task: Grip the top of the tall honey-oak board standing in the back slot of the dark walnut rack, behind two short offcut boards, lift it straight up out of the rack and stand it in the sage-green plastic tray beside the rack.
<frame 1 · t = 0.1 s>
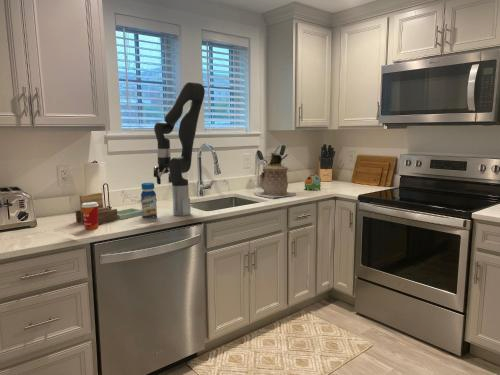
hand: (164, 183, 224), 17 cm above the table, tool pointing down, fingers open, 8 cm apart
paper cup: (92, 231, 183), on the table
tray: (126, 218, 211), on the table
cookie jar: (274, 195, 279), on the table
offcut b: (101, 222, 196), point 1 cm above the table, touching rack
rack: (97, 223, 198), on the table
offcut a: (97, 221, 198), point 1 cm above the table, touching rack
beverage bottle: (149, 219, 208), on the table
tall board: (93, 220, 201), point 1 cm above the table, touching rack
turtle holder: (313, 189, 304), on the table
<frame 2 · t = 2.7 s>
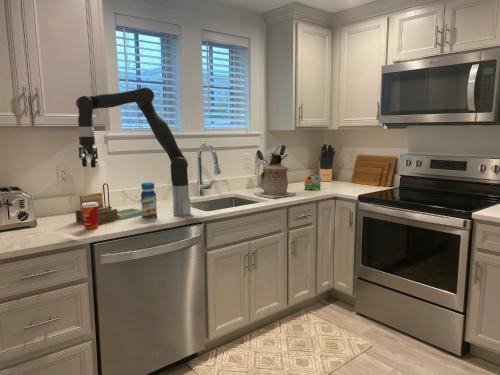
hand: (89, 167, 197), 30 cm above the table, tool pointing down, fingers open, 8 cm apart
nothing on the table moved.
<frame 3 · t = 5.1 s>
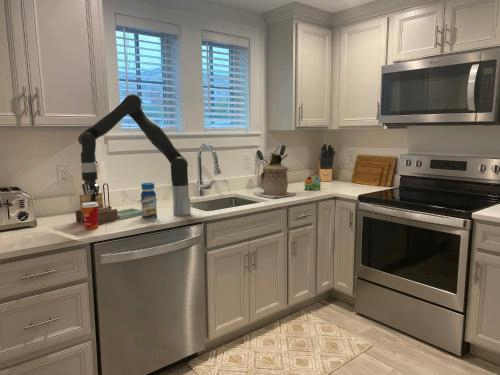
hand: (91, 203, 199), 11 cm above the table, tool pointing down, fingers closed on tall board, 3 cm apart
tall board: (93, 220, 201), point 1 cm above the table, touching gripper, rack
everything else where it was.
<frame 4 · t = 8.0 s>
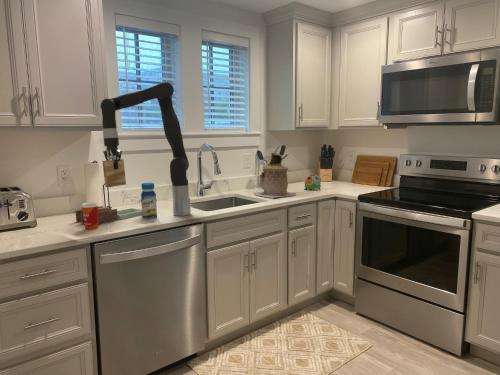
hand: (114, 169, 203), 28 cm above the table, tool pointing down, fingers closed on tall board, 3 cm apart
tall board: (115, 185, 204), point 19 cm above the table, touching gripper
everything else where it was.
when the fingers open (11 cm above the table, at t = 10.8 s): tall board drops 1 cm, resting on tray.
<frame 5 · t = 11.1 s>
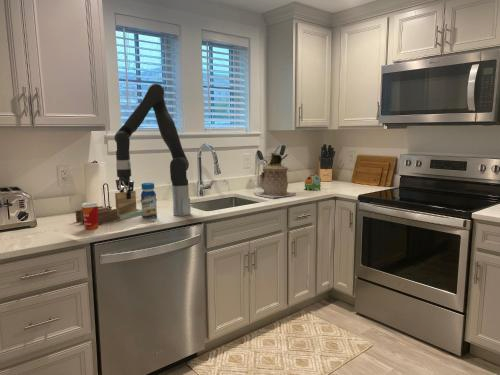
hand: (125, 198, 209), 11 cm above the table, tool pointing down, fingers open, 5 cm apart
tall board: (126, 216, 211), point 1 cm above the table, touching tray
everything else where it was.
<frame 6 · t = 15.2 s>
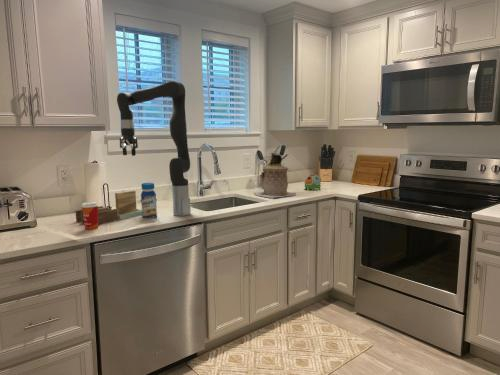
hand: (129, 155, 222), 34 cm above the table, tool pointing down, fingers open, 8 cm apart
nothing on the table moved.
at the end: tall board inside the target area on the tray (0.1 cm from its centre), point 0.8 cm above the tray's base; tall board touching tray; the gripper is holding nothing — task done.
